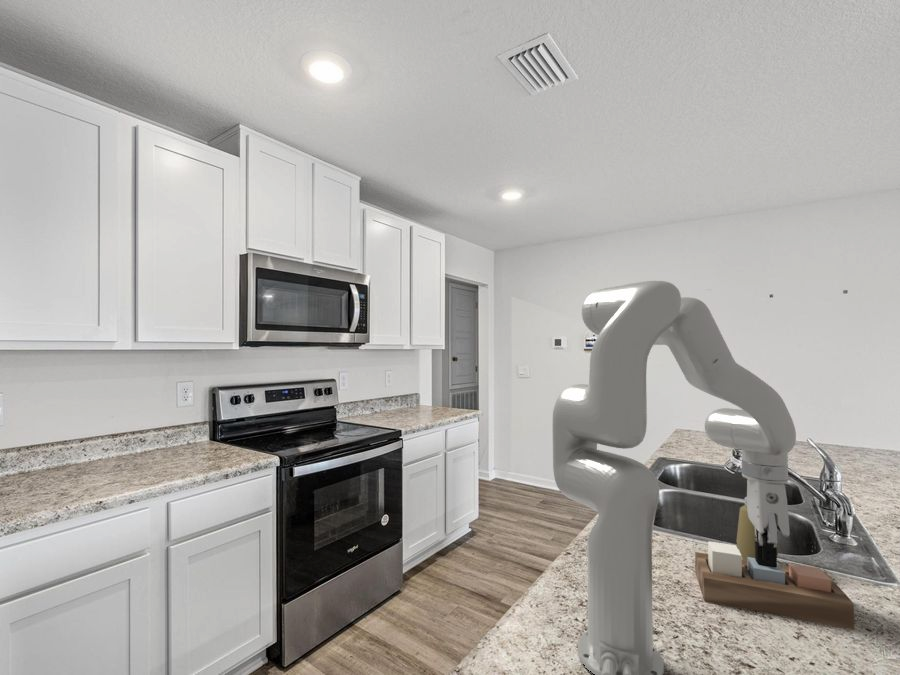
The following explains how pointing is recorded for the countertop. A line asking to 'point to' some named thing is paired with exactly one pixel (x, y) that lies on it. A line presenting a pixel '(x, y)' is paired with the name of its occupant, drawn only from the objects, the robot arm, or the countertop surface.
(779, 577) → the key slate
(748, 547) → the squeeze bottle
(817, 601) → the wooden compartment tray
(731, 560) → the key cream
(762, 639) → the countertop surface
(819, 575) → the peach cube
